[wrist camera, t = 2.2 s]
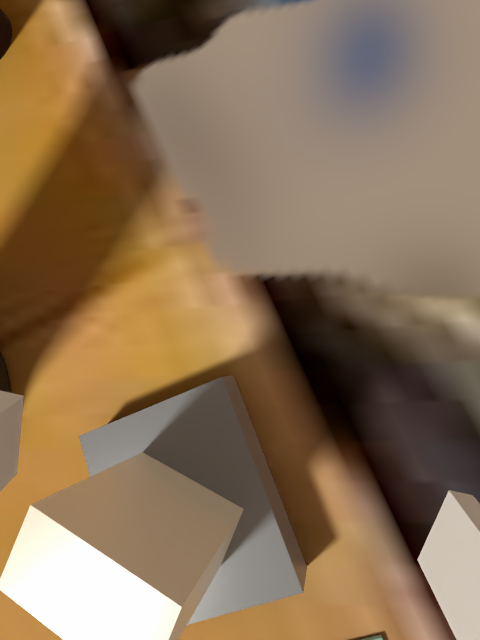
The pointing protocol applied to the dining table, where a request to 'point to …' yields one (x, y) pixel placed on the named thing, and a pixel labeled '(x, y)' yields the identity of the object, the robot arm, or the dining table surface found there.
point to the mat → (374, 638)
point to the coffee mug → (4, 33)
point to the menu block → (120, 553)
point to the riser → (216, 487)
